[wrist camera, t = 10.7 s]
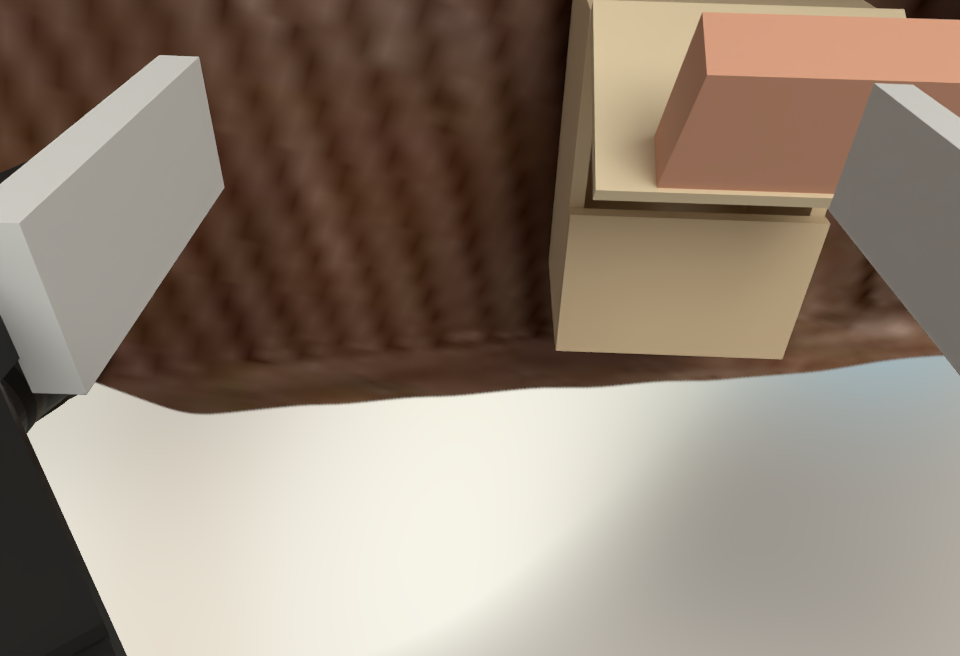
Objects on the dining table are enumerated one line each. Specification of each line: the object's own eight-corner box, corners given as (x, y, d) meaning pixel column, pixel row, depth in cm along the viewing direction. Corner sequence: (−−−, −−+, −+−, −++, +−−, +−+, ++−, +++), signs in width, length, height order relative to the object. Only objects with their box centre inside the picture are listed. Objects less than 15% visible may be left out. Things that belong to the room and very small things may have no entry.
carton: (548, 260, 54) (555, 353, 45) (575, -35, 42) (592, 14, 33) (739, 267, 53) (782, 362, 45) (822, -28, 41) (904, 24, 33)
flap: (592, 199, 30) (628, 77, 23) (590, 12, 33) (621, -148, 26) (929, 211, 30) (1075, 91, 23) (894, 22, 33) (1011, -137, 26)
